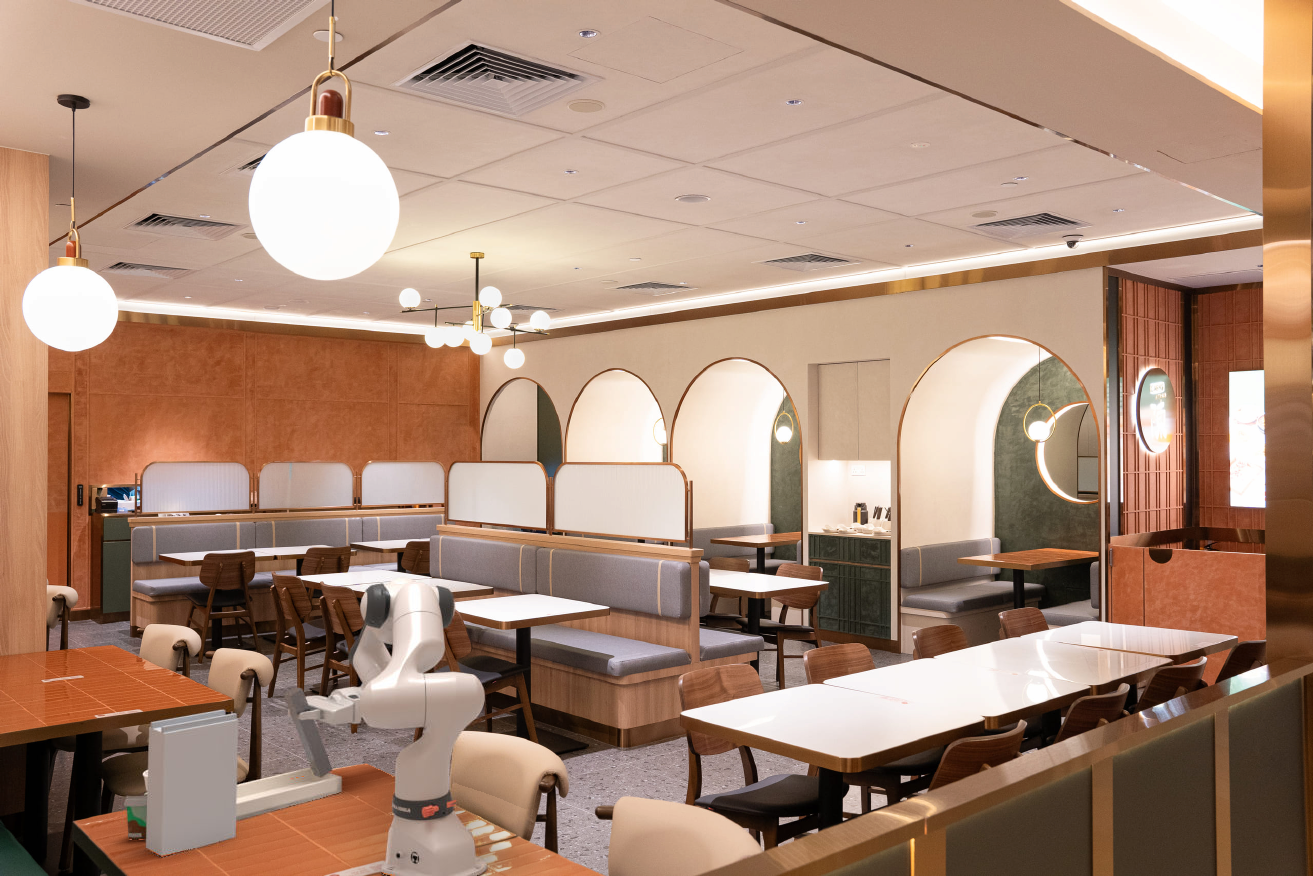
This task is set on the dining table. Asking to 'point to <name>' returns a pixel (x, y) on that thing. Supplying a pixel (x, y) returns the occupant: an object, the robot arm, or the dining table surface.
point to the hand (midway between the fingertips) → (294, 714)
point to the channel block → (191, 781)
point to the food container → (137, 816)
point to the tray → (283, 792)
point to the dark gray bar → (308, 733)
